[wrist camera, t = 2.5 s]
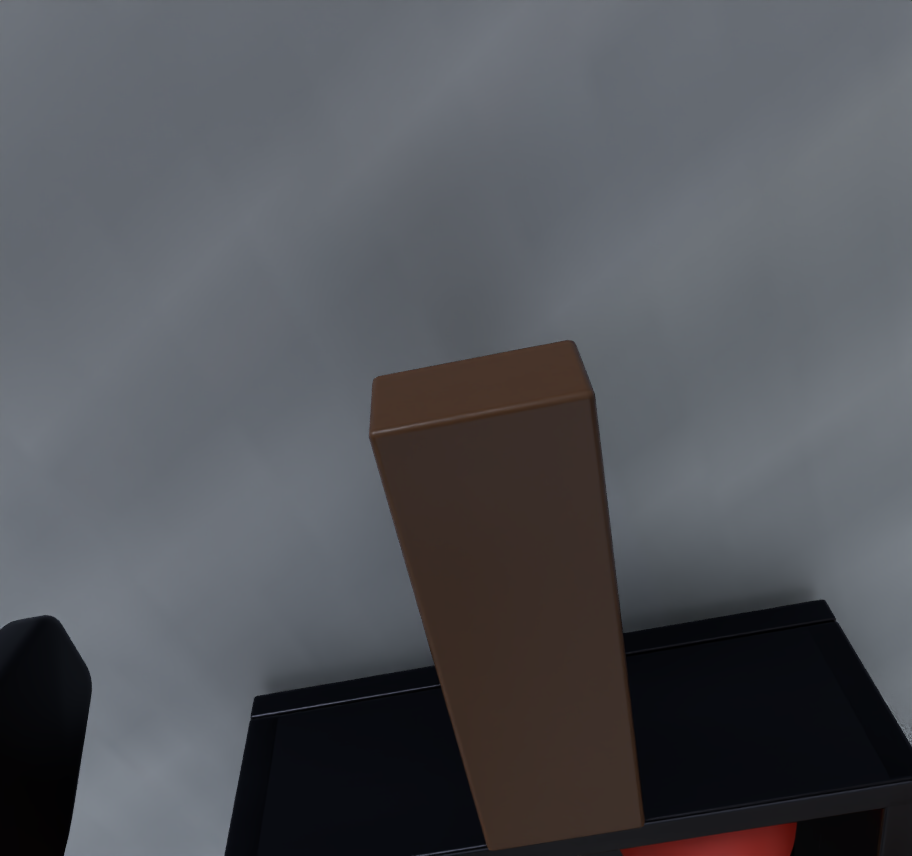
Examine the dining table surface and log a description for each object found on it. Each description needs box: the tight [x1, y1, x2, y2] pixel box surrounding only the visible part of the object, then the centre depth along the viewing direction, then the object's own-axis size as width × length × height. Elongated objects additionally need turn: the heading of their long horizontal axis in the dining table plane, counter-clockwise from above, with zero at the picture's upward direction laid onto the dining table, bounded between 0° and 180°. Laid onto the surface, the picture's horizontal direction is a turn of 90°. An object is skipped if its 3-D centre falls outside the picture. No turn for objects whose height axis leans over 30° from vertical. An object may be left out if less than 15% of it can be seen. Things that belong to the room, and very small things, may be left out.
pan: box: [224, 340, 912, 856], centre depth 14 cm, size 18×10×4 cm, turn 11°
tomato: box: [620, 822, 797, 856], centre depth 14 cm, size 3×3×3 cm
